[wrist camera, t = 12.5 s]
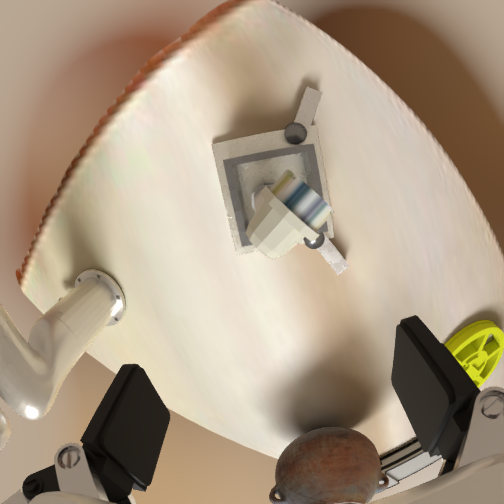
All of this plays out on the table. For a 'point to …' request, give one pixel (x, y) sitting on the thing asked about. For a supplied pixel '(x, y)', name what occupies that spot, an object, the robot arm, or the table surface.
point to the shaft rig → (275, 174)
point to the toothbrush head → (285, 215)
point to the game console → (405, 462)
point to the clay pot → (328, 469)
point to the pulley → (477, 349)
